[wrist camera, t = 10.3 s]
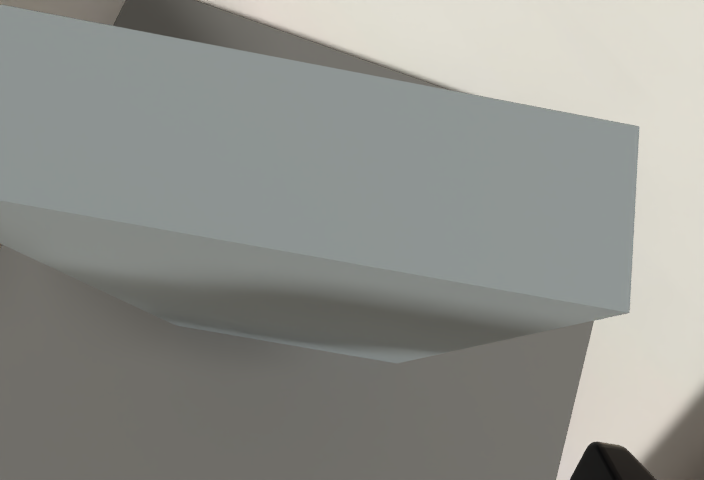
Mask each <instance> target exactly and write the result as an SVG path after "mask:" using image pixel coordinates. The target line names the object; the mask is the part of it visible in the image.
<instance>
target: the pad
mask: <svg viewBox="0 0 704 480" xmlns="http://www.w3.org/2000/svg"><path fill="white" fill-rule="evenodd" d="M113 26H116V27H122V28H127V29H132V30H137V31H143V32H148V33H153V34H158V35H163V36H169V37H174V38H179V39H184V40H190V41H195V42H200V43H205V44H211V45H216V46H221V47H226V48H231V49H237V50H242V51H247V52H252V53H258V54H263V55H268V56H273V57H279V58H284V59H289V60H294V61H300V62H305V63H310V64H315V65H320V66H326V67H331V68H336V69H341V70H347V71H352V72H357V73H362V74H368V75H373V76H378V77H383V78H389V79H394V80H399V81H404V82H409V83H415V84H420V85H425V86H430V87H436V88H441V89H445V88H442V87H439V86H436V85H434V84H431V83H428V82H425V81H422V80H419V79H417V78H414V77H411V76H408V75H405V74H403V73H400V72H397V71H394V70H391V69H388V68H386V67H383V66H380V65H377V64H374V63H371V62H369V61H366V60H363V59H360V58H357V57H354V56H352V55H349V54H346V53H343V52H340V51H337V50H335V49H332V48H329V47H326V46H323V45H320V44H318V43H315V42H312V41H309V40H306V39H303V38H301V37H298V36H295V35H292V34H289V33H286V32H284V31H281V30H278V29H275V28H272V27H270V26H267V25H264V24H261V23H258V22H255V21H253V20H250V19H247V18H244V17H241V16H238V15H236V14H233V13H230V12H227V11H224V10H221V9H219V8H216V7H213V6H210V5H207V4H204V3H202V2H199V1H196V0H126V1H125V3H124V5H123V7H122V9H121V11H120V13H119V15H118V17H117V19H116V21H115V23H114V25H113ZM446 90H448V89H446ZM593 322H594V321H589V322H585V323H580V324H576V325H571V326H566V327H562V328H557V329H553V330H548V331H543V332H539V333H534V334H530V335H525V336H521V337H516V338H511V339H507V340H502V341H498V342H493V343H488V344H484V345H479V346H475V347H470V348H465V349H461V350H456V351H452V352H447V353H442V354H438V355H433V356H429V357H424V358H419V359H415V360H410V361H406V362H401V363H391V362H385V361H380V360H374V359H368V358H362V357H356V356H351V355H345V354H339V353H333V352H327V351H322V350H316V349H310V348H304V347H298V346H293V345H287V344H281V343H275V342H269V341H264V340H258V339H252V338H246V337H240V336H235V335H229V334H223V333H217V332H211V331H206V330H200V329H194V328H188V327H182V326H177V325H174V324H172V323H170V322H168V321H165V320H163V319H161V318H159V317H157V316H155V315H153V314H150V313H148V312H146V311H144V310H142V309H140V308H137V307H135V306H133V305H131V304H129V303H127V302H125V301H122V300H120V299H118V298H116V297H114V296H112V295H110V294H107V293H105V292H103V291H101V290H99V289H97V288H95V287H92V286H90V285H88V284H86V283H84V282H82V281H80V280H77V279H75V278H73V277H71V276H69V275H67V274H65V273H62V272H60V271H58V270H56V269H54V268H52V267H49V266H47V265H45V264H43V263H41V262H39V261H37V260H34V259H32V258H30V257H28V256H26V255H24V254H22V253H19V252H17V251H15V250H13V249H11V248H9V247H7V246H4V245H2V246H1V248H0V480H556V477H557V473H558V469H559V464H560V460H561V456H562V452H563V448H564V443H565V439H566V435H567V431H568V427H569V423H570V418H571V414H572V410H573V406H574V402H575V397H576V393H577V389H578V385H579V381H580V377H581V372H582V368H583V364H584V360H585V356H586V351H587V347H588V343H589V339H590V335H591V331H592V326H593Z"/></svg>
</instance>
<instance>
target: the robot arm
mask: <svg viewBox="0 0 704 480" xmlns="http://www.w3.org/2000/svg"><path fill="white" fill-rule="evenodd" d="M570 480H656V479H655V478H654V477H653V476H652V475H651V474H650V472H649V471H648V470H647V469H646V468H645V467H644V466H643V465H642V464H641V463H640V462H639V461H638V460H637V459H636V458H635V457H634V456H633V455H632V454H631V453H630V452H629V451H628V450H627V449H626V448H624V447H622V446H620V445H614V444H608V443H602V442H593V443H591V444H590V445H589V446H588V447H587V449H586V450H585V452H584V454H583V456H582V458H581V460H580V462H579V463H578V465H577V467H576V469H575V471H574V473H573V475H572V477H571V479H570Z"/></svg>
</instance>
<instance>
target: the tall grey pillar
mask: <svg viewBox="0 0 704 480" xmlns="http://www.w3.org/2000/svg"><path fill="white" fill-rule="evenodd" d="M638 141H639V126H635V125H629V124H624V123H619V122H614V121H608V120H603V119H598V118H593V117H587V116H582V115H577V114H572V113H566V112H561V111H556V110H551V109H546V108H540V107H535V106H530V105H525V104H519V103H514V102H509V101H504V100H498V99H493V98H488V97H483V96H477V95H472V94H467V93H462V92H457V91H451V90H446V89H441V88H436V87H430V86H425V85H420V84H415V83H409V82H404V81H399V80H394V79H389V78H383V77H378V76H373V75H368V74H362V73H357V72H352V71H347V70H341V69H336V68H331V67H326V66H320V65H315V64H310V63H305V62H300V61H294V60H289V59H284V58H279V57H273V56H268V55H263V54H258V53H252V52H247V51H242V50H237V49H231V48H226V47H221V46H216V45H211V44H205V43H200V42H195V41H190V40H184V39H179V38H174V37H169V36H163V35H158V34H153V33H148V32H143V31H137V30H132V29H127V28H122V27H116V26H111V25H106V24H101V23H95V22H90V21H85V20H80V19H74V18H69V17H64V16H59V15H54V14H48V13H43V12H38V11H33V10H27V9H22V8H17V7H12V6H6V5H1V4H0V244H2V245H4V246H7V247H9V248H11V249H13V250H15V251H17V252H19V253H22V254H24V255H26V256H28V257H30V258H32V259H34V260H37V261H39V262H41V263H43V264H45V265H47V266H49V267H52V268H54V269H56V270H58V271H60V272H62V273H65V274H67V275H69V276H71V277H73V278H75V279H77V280H80V281H82V282H84V283H86V284H88V285H90V286H92V287H95V288H97V289H99V290H101V291H103V292H105V293H107V294H110V295H112V296H114V297H116V298H118V299H120V300H122V301H125V302H127V303H129V304H131V305H133V306H135V307H137V308H140V309H142V310H144V311H146V312H148V313H150V314H153V315H155V316H157V317H159V318H161V319H163V320H165V321H168V322H170V323H172V324H174V325H177V326H182V327H188V328H194V329H200V330H206V331H211V332H217V333H223V334H229V335H235V336H240V337H246V338H252V339H258V340H264V341H269V342H275V343H281V344H287V345H293V346H298V347H304V348H310V349H316V350H322V351H327V352H333V353H339V354H345V355H351V356H356V357H362V358H368V359H374V360H380V361H385V362H391V363H401V362H406V361H410V360H415V359H419V358H424V357H429V356H433V355H438V354H442V353H447V352H452V351H456V350H461V349H465V348H470V347H475V346H479V345H484V344H488V343H493V342H498V341H502V340H507V339H511V338H516V337H521V336H525V335H530V334H534V333H539V332H543V331H548V330H553V329H557V328H562V327H566V326H571V325H576V324H580V323H585V322H589V321H594V320H599V319H603V318H608V317H612V316H617V315H622V314H626V313H629V310H630V291H631V273H632V254H633V235H634V216H635V197H636V178H637V160H638Z"/></svg>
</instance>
